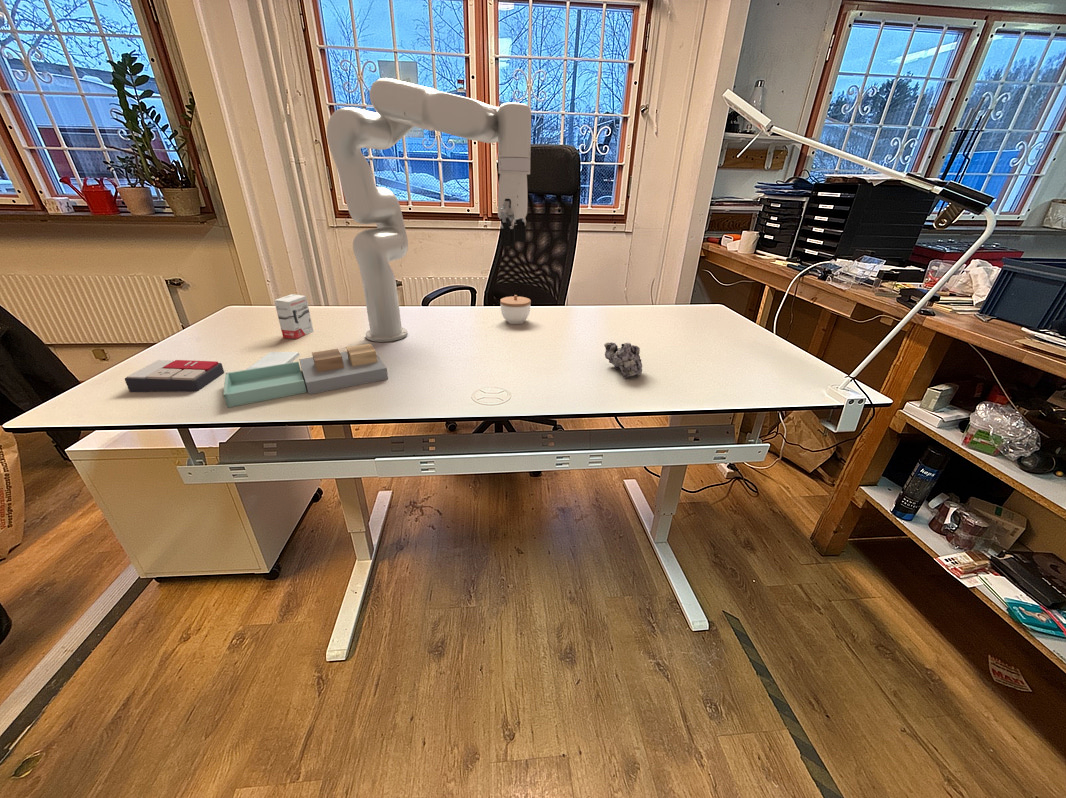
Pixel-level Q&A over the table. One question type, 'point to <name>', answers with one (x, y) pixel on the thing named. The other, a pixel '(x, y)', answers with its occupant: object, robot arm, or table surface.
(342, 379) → the board
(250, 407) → the table surface
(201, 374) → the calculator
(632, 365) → the mineral specimen
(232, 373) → the tray
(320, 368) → the tile walnut
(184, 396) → the table surface
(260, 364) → the hard drive
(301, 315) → the ink box
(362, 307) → the table surface
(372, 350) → the tile oak
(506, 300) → the lidded jar
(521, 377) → the table surface
